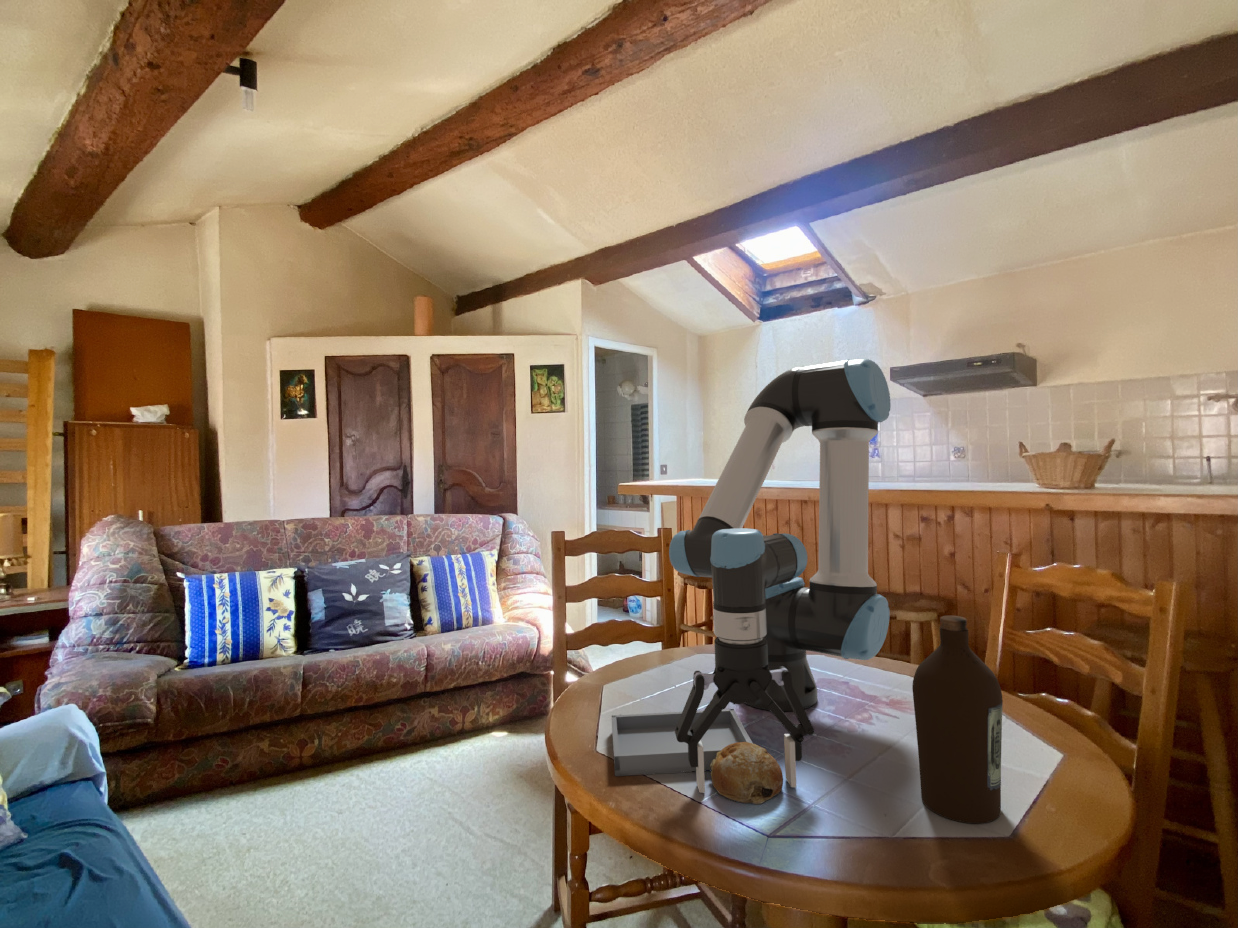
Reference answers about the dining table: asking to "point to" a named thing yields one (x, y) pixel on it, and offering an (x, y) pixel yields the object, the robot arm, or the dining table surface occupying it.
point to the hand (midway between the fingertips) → (745, 785)
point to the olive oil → (958, 729)
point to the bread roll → (746, 773)
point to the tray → (667, 742)
